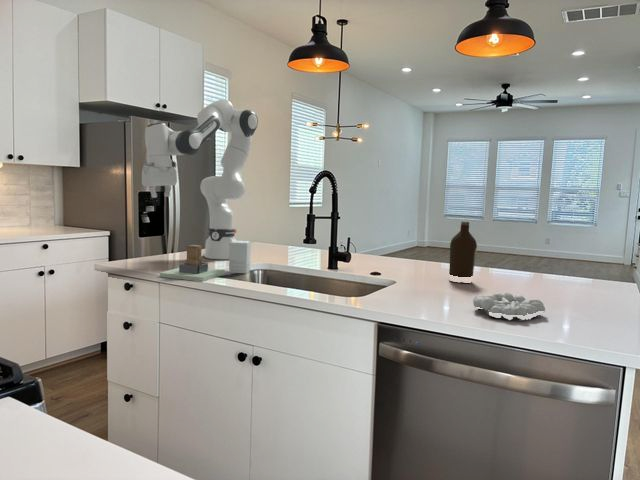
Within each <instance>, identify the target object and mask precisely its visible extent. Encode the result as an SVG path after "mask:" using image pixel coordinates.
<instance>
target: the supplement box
mask: <svg viewBox="0 0 640 480" xmlns="http://www.w3.org/2000/svg"><path fill="white" fill-rule="evenodd" d="M229 244H230V250H229V259H228V262H229V263H228V265H229V267H228V269H229V271H228V273H229V274H230V273H232V274H247V273H249V272H250V271H251V251H252V249H251V248H252V247H251V244H252V242H251V241H250V240H249V241H248V240H237V241H235V240H234V241H232V242H230V243H229Z"/></svg>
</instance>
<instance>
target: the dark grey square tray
mask: <svg viewBox="0 0 640 480" xmlns="http://www.w3.org/2000/svg"><path fill="white" fill-rule="evenodd" d="M178 268H179V272H182V273H192V274H200V273H203V272H206V271H208V268H209V263H208V262H202V261H201V265H198V266H195V265H187V261H186V262H181V263H179V265H178Z"/></svg>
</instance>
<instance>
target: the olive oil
mask: <svg viewBox="0 0 640 480" xmlns="http://www.w3.org/2000/svg"><path fill="white" fill-rule="evenodd" d="M469 230H470V222H469V221H461V223H460V230H459V231H458V232H457V233H456V234H455V235H454V236H453V237H452V239H451V240H450V243H449V271H448V272H449V274H450V275H453V276H458V277H471V276H473V277H474V269H475V261H476V255H477V249H478V244H477V241H476V239H475V238H474V236H473V235H472V234H471V232H470V231H469ZM449 274H448V275H449Z"/></svg>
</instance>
